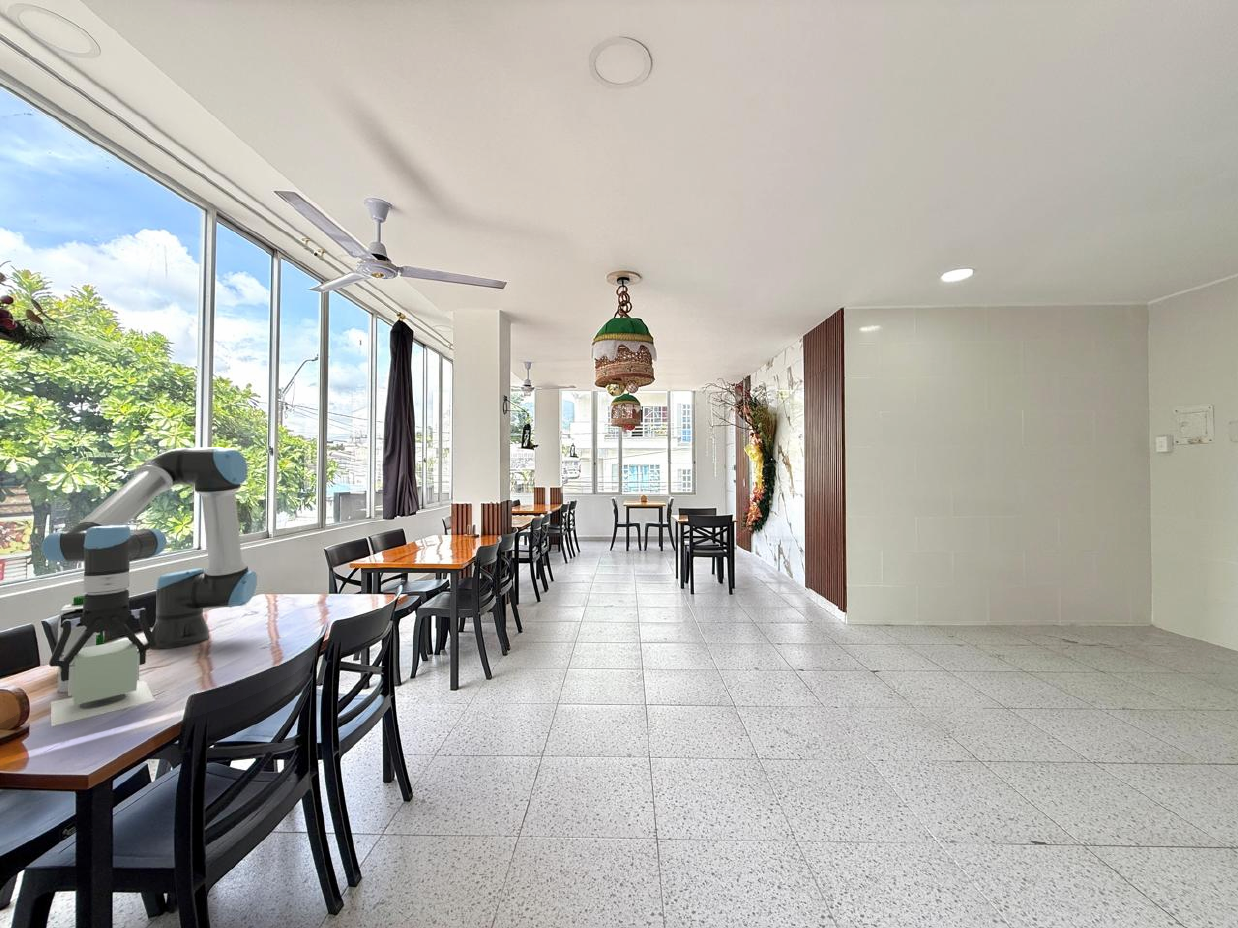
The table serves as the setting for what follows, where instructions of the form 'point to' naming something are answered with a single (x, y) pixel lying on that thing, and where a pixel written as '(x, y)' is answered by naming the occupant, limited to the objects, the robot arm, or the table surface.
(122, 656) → the mint green block
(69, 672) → the robot arm
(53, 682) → the table surface
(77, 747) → the table surface
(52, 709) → the board
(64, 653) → the travel mug
